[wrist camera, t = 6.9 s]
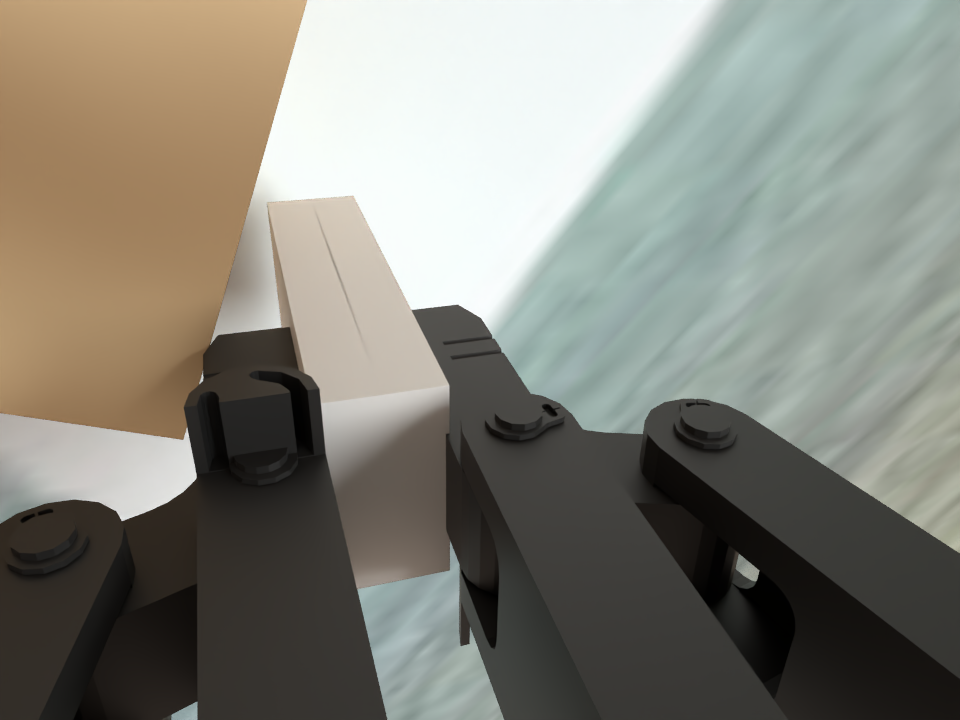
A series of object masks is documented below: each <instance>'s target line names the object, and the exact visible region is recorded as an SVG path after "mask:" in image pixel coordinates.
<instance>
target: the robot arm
mask: <svg viewBox="0 0 960 720" xmlns="http://www.w3.org/2000/svg"><path fill="white" fill-rule="evenodd" d="M267 207H268V215H269V224H270V232H271V241H272V249H273V258H274V266H275V275H276V283H277V292H278V300H279V309H280V318H281V326H282V328H276V329H267V330H259V331H250V332H241V333H233V334H224V335H218V336H217V337H216V339H215V340H214V341H213V342H212V344H211V345H210V346H209V348H208V349H207V350H206V351H205V353H204V354H203V376H204V379H203V382H202V383H201V384H199V385H198V386H197V387H196V388H195V389H194V390H192V391H191V392H190V393H189V395H188V397H187V400H186V402H185V405H184V412H185V417H186V422H187V427H188V432H189V438H190V443H191V448H192V453H193V458H194V463H195V468H196V473H197V478H196V480H195V481H194V482H193V483H192V484H191V485H190V486H189V487H188V488H187V489H186V490H185V491H184V492H183V493H181V494H180V495H178V496H177V497H175V498H174V499H172V500H171V501H169V502H168V503H166V504H164V505H161V506H159V507H157V508H155V509H153V510H151V511H148V512H146V513H143V514H140V515H138V516H135V517H133V518H130V519H127V520H125V521H121V519H120V517H119V515H118V514H117V512H116V511H114V510H112V509H111V508H109V507H107V506H105V505H103V504H101V503H99V502H91V501H82V500H69V501H61V502H54V503H47V504H43V505H41V506H38V507H35V508H32V509H29V510H26V511H23V512H21V513H18V514H16V515H14V516H13V517H11V518H9V519H8V520H6V521H4V522H3V523H1V524H0V720H171V715H172V714H173V713H175V712H177V711H179V710H181V709H183V708H185V707H187V706H189V705H191V704H193V703H195V702H197V701H198V720H387V717H386V712H385V708H384V704H383V699H382V695H381V691H380V686H379V682H378V678H377V673H376V669H375V665H374V660H373V656H372V652H371V647H370V643H369V639H368V634H367V630H366V626H365V621H364V617H363V613H362V608H361V604H360V600H359V595H358V591H357V589H360V588H365V587H370V586H375V585H380V584H385V583H390V582H394V581H399V580H404V579H409V578H414V577H419V576H424V575H429V574H434V573H439V572H444V571H449V570H450V541H451V543H452V546H453V549H454V551H455V554H456V556H457V559H458V562H459V564H460V595H459V633H460V644H461V646H463V645H467V644H469V638H470V627H471V630H472V633H473V635H474V638H475V641H476V644H477V646H478V649H479V652H480V654H481V657H482V660H483V663H484V665H485V668H486V671H487V674H488V676H489V679H490V682H491V684H492V687H493V690H494V693H495V695H496V698H497V701H498V703H499V706H500V709H501V712H502V714H503V717H504V720H960V553H958V552H957V551H955V550H953V549H952V548H950V547H949V546H947V545H946V544H944V543H943V542H941V541H940V540H938V539H937V538H935V537H933V536H932V535H930V534H929V533H927V532H926V531H924V530H923V529H921V528H920V527H918V526H917V525H915V524H914V523H912V522H910V521H909V520H907V519H906V518H904V517H903V516H901V515H900V514H898V513H897V512H895V511H894V510H892V509H890V508H889V507H887V506H886V505H884V504H883V503H881V502H880V501H878V500H877V499H875V498H874V497H872V496H870V495H869V494H867V493H866V492H864V491H863V490H861V489H860V488H858V487H857V486H855V485H854V484H852V483H850V482H849V481H847V480H846V479H844V478H843V477H841V476H840V475H838V474H837V473H835V472H834V471H832V470H830V469H829V468H827V467H826V466H824V465H823V464H821V463H820V462H818V461H817V460H815V459H814V458H812V457H810V456H809V455H807V454H806V453H804V452H803V451H801V450H800V449H798V448H797V447H795V446H794V445H792V444H791V443H789V442H787V441H786V440H784V439H783V438H781V437H780V436H778V435H777V434H775V433H774V432H772V431H771V430H769V429H767V428H766V427H764V426H763V425H761V424H760V423H758V422H757V421H755V420H754V419H752V418H751V417H749V416H747V415H746V414H744V413H742V412H740V411H738V410H736V409H734V408H732V407H729V406H727V405H724V404H720V403H716V402H712V401H709V400H704V399H680V400H675V401H669V402H664V403H663V404H661V405H659V406H657V407H656V408H654V409H652V410H651V411H650V413H649V415H648V416H647V418H646V420H645V424H644V431H643V434H624V433H604V432H595V431H587V430H583V429H582V428H581V427H580V425H579V424H578V422H577V421H576V419H575V418H574V417H573V415H572V414H571V413H570V412H569V411H568V410H566V409H565V408H564V407H563V406H562V405H561V404H560V403H557V402H555V401H553V400H550V399H548V398H546V397H544V396H540V395H534V394H530V392H529V391H528V389H527V388H526V386H525V385H524V383H523V382H522V380H521V379H520V377H519V376H518V374H517V373H516V371H515V369H514V368H513V366H512V365H511V363H510V362H509V360H508V359H507V357H506V356H505V354H504V353H502V352H501V348H500V347H499V345H498V344H497V342H496V341H495V339H492V335H491V333H490V332H489V330H488V328H487V327H486V325H485V324H484V322H483V321H482V319H481V318H480V317H478V316H476V315H474V314H473V313H471V312H469V311H468V310H466V309H464V308H462V307H461V306H459V305H452V306H443V307H435V308H426V309H417V310H411V309H410V307H409V305H408V303H407V301H406V299H405V297H404V295H403V293H402V291H401V289H400V287H399V285H398V283H397V281H396V279H395V277H394V275H393V273H392V271H391V269H390V267H389V265H388V263H387V261H386V259H385V257H384V255H383V253H382V251H381V249H380V247H379V245H378V244H377V242H376V240H375V238H374V236H373V234H372V232H371V230H370V228H369V226H368V224H367V222H366V220H365V218H364V216H363V214H362V212H361V210H360V208H359V206H358V204H357V202H356V200H355V198H354V196H345V197H332V198H319V199H307V200H294V201H281V202H268V203H267ZM739 554H740V555H741V556H743V557H744V558H745V559H746V560H747V561H749V562H750V563H751V564H752V565H754V566H755V567H756V568H757V569H758V570H760V572H759V575H758V579H757V581H756V582H755V581H751V580H749V579H748V578H746V577H745V576H743V575H742V574H741V573H740V572H738V571H737V570H736V569H735V568H736V564H737V559H738V555H739Z"/></svg>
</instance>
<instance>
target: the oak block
mask: <svg viewBox="0 0 960 720" xmlns="http://www.w3.org/2000/svg"><path fill="white" fill-rule="evenodd" d="M306 3H307V0H0V413H4V414H11V415H18V416H24V417H31V418H38V419H45V420H52V421H59V422H65V423H72V424H79V425H86V426H93V427H100V428H106V429H113V430H120V431H127V432H134V433H141V434H147V435H154V436H161V437H168V438H175V439H181V440H183V439H184V435H185V432H186V428H187V422H186V417H185V412H184V405H185V402H186V400H187V397H188V395H189V393H190V392H191V391H192V390H194V389H195V388H196V387H197V386H198V385H199V382H200V379H201V375H202V371H203V354H204V353H205V351H206V350H207V349H208V348H209V346H210V343H211V339H212V336H213V332H214V329H215V325H216V322H217V318H218V315H219V311H220V308H221V304H222V300H223V297H224V293H225V290H226V286H227V283H228V279H229V276H230V272H231V269H232V265H233V261H234V258H235V254H236V251H237V247H238V244H239V240H240V237H241V233H242V230H243V226H244V222H245V219H246V215H247V212H248V208H249V205H250V201H251V198H252V194H253V191H254V187H255V183H256V180H257V176H258V173H259V169H260V166H261V162H262V159H263V155H264V151H265V148H266V144H267V141H268V137H269V134H270V130H271V127H272V123H273V120H274V116H275V112H276V109H277V105H278V102H279V98H280V95H281V91H282V88H283V84H284V81H285V77H286V73H287V70H288V66H289V63H290V59H291V56H292V52H293V49H294V45H295V42H296V38H297V34H298V31H299V27H300V24H301V20H302V17H303V13H304V10H305V6H306Z"/></svg>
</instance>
